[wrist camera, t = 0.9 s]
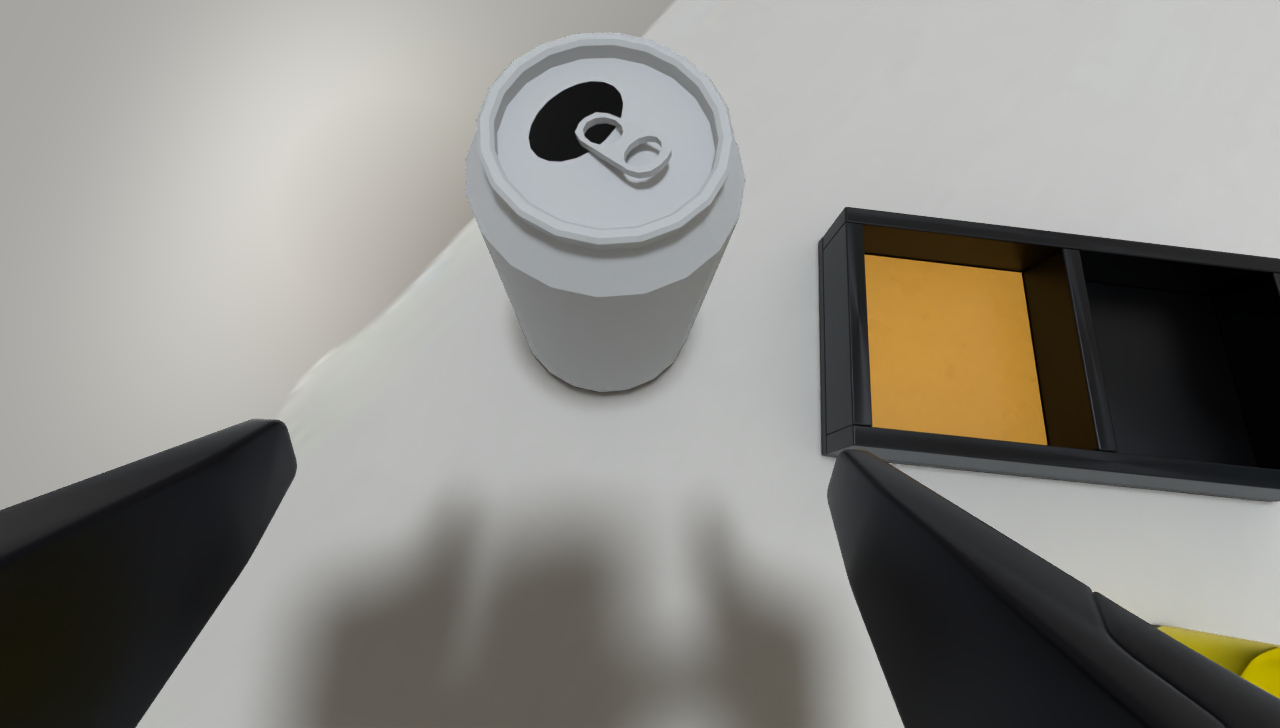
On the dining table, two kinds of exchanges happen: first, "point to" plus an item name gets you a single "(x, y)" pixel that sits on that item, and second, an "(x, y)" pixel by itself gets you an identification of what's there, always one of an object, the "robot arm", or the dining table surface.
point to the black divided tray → (1050, 355)
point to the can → (605, 201)
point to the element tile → (1235, 655)
